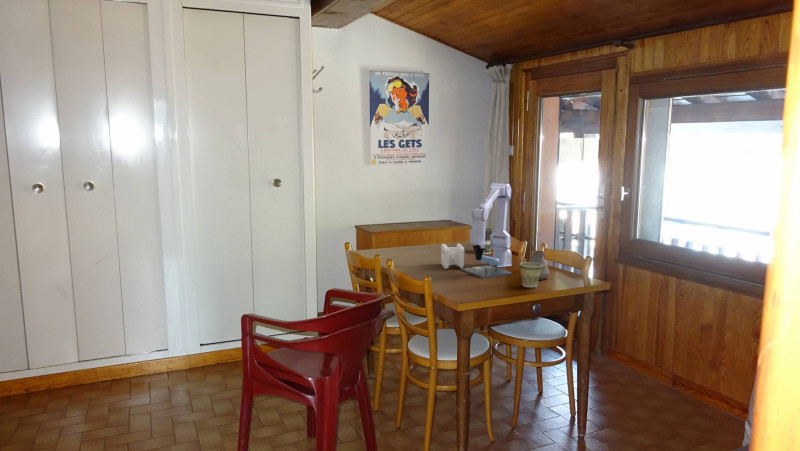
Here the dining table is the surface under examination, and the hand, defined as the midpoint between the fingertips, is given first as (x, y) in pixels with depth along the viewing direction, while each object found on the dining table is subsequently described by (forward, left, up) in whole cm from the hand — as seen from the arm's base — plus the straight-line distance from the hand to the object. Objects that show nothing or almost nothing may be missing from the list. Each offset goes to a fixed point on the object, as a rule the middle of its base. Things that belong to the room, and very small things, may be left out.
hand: (478, 260), depth 276 cm
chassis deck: (-7, -2, -7) cm, 10 cm away
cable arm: (-10, -6, -3) cm, 12 cm away
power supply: (-6, 0, -7) cm, 9 cm away
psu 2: (0, 0, -7) cm, 7 cm away
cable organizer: (+2, -20, -8) cm, 22 cm away
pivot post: (-11, 0, -7) cm, 13 cm away
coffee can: (-36, -45, -8) cm, 58 cm away
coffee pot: (-25, +13, -8) cm, 29 cm away
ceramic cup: (-11, +28, -8) cm, 31 cm away
